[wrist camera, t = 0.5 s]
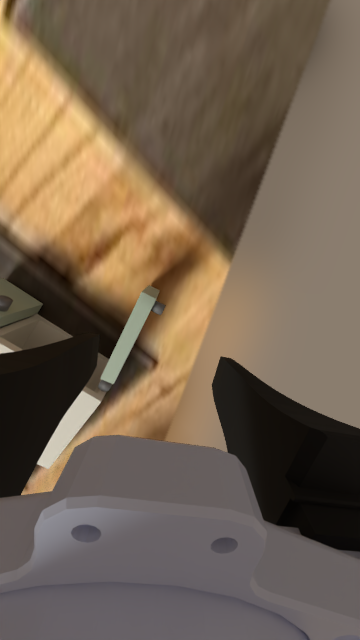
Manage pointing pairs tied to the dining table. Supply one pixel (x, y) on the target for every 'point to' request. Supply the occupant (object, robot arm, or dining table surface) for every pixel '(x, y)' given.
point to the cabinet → (34, 331)
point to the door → (130, 335)
